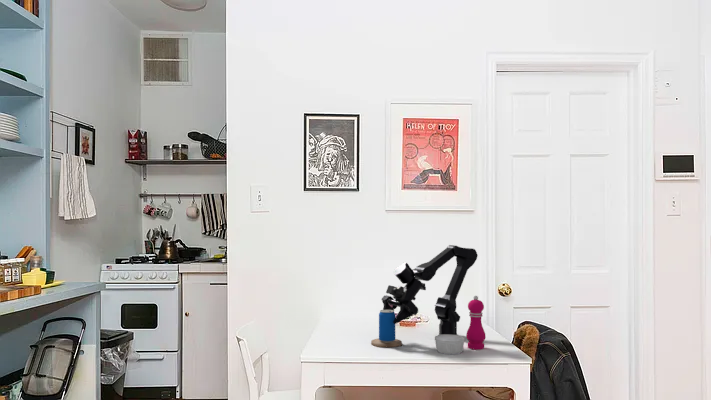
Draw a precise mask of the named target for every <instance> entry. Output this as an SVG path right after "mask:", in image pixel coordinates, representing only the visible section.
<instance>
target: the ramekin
mask: <svg viewBox="0 0 711 400" xmlns="http://www.w3.org/2000/svg"><path fill="white" fill-rule="evenodd" d="M465 339H466V338H465V337H464V336H462V335H459V334H457V335H450V334H443V335H440V334H438V335H437V334H436V335H435V336H434V341H435V342H434V343H435V347H436V351H437V352H438V353H441V354H444V355H459V354H461V353H462V352H463V351H464V343H465Z"/></svg>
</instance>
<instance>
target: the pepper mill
mask: <svg viewBox="0 0 711 400" xmlns="http://www.w3.org/2000/svg"><path fill="white" fill-rule="evenodd" d="M467 308H468V310H469V317H470V323H469V327H468V329H467V330H466V338H465V339H467V340H468V342H467V348H468V349H469V350H470V349H471V350H476V351H478V350H479V351H480V350H485V343H484V341H485V340H486V332H485V329H484V327H483V324H482V317H483V310H484V309H485V306H484V303H483V301H481V300H480V299H479V296H478V295H474V296H473V299H472V300H470V301H469V302H468V304H467Z"/></svg>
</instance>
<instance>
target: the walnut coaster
mask: <svg viewBox="0 0 711 400" xmlns="http://www.w3.org/2000/svg"><path fill="white" fill-rule="evenodd" d="M370 342H371V343H370V344H371V346H374V347H376V348H398V347H401V346H403V345H402V344H403V342H402V340H401V339H397V338H395V340H394V341H393V342H391V343H384V342H381V341H380V340H379V338H374V339H372V340H371V341H370Z"/></svg>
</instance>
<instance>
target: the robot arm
mask: <svg viewBox="0 0 711 400" xmlns="http://www.w3.org/2000/svg"><path fill="white" fill-rule="evenodd" d="M454 257H456V258H455V262H456V267H455V269H454V272H453V274H452V277H451V279H450V281H449V284H448V286H447V289H446V291H445V293H444V295H443V296H442V297H440V296H439V297H438V298H437V299H436V303H435V304H434V311H435V314H436V318H437V320H439V321H440V322H439V325H438V335H443V334H450V335H458V333H457V332H458V330H457V329H458V328H457V327H458V324H457V323H458V322H460V320H461V316H460V315H459V313H458V312H457V311H456V310H457V297H458V296H459V292H460V291H461V287H462V286H463V283H464V280H465V278H466V275H467V273H468V270H469V269H470V268H471V267H472V266H474V265H475V263H476V261H477V260H478V257H479V256H478V252H477V250H476V249H475V248H471V247H470V248H469V247H461V246H458V245H455V244H454V245H453V244H452V245H451V244H449V245H448V246H447V247H446V248H445V249H443V250H441V252H440V253H438V254H437V255H436V256H434V257H433V258H432V259H430V260H429V261H427V262H424V263H421V264H419V265H417V266H416V267H414V268H413V269H412V267H410V265H409V264H408V262H403V263H401V264H400V265H398V266H397V267H395V269H394V270H393V274H394V275H395V277H396V278H397V279H398V280H399V281H400V282H401V284H405V285H404V286H401V285H398V286H393V285H388V286H387V289H386V292H385V293H386V295H383V296H382V297H381V301H382V304H383V308H382V310H394V311H395V309H397V307H399V308H400V309H399V311H398V313H397V315H395V319H394V321H393V323H394V324H395V325H396V324H398V323H400V322H401V321H404V320H405V319H408V318H411V317H413V316H416V315H417V314H418V313H419V308H418V307H417V305H416V304H415V303H414V302H413V301H415V300H416V299H417V298H416V296H417V294H418V293H419V291H420V290H421V291H426V290H427V287H426V283H424V282H429V281H431V280H432V279H433V278H434V277H435V275H436V273H437V271H438V270H439V269H440V268H442V267H443V266H444V265H445V264H447V262H449V261H450V260H451V259H453V258H454ZM422 281H424V282H422ZM387 294H389V295H387ZM390 295H392V296H390Z"/></svg>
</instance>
